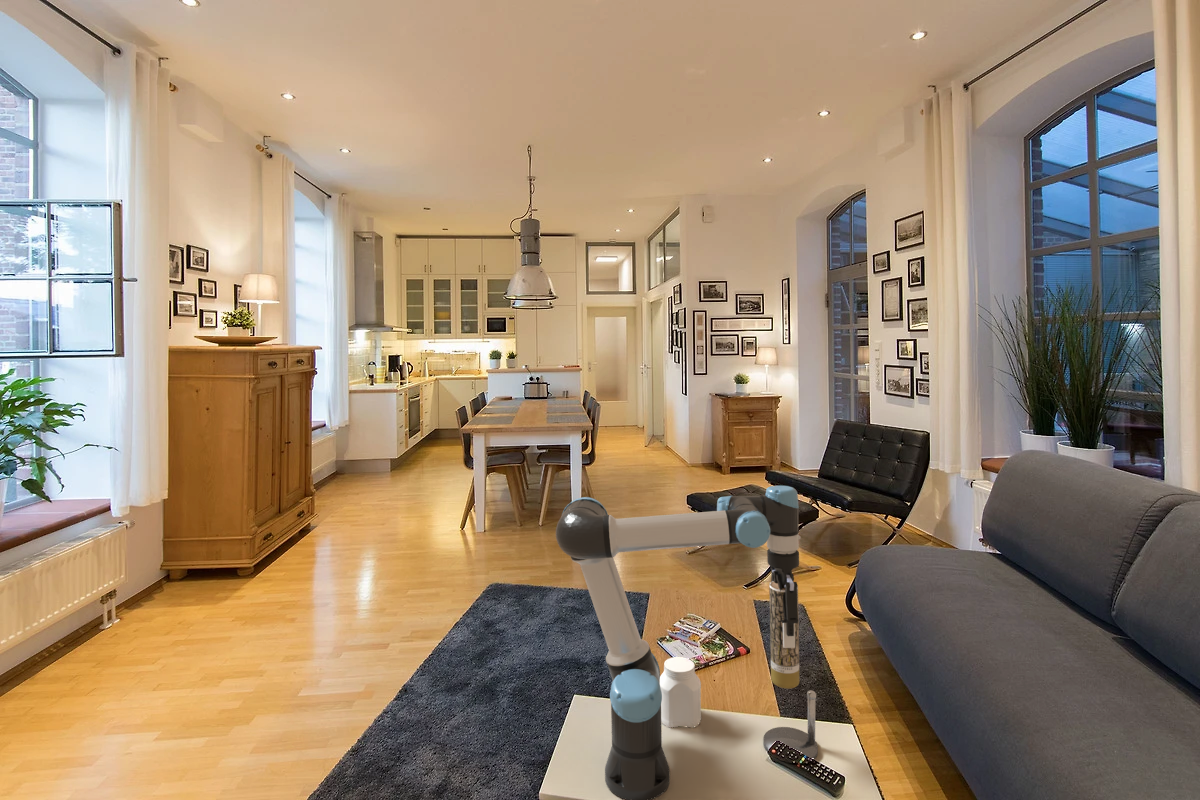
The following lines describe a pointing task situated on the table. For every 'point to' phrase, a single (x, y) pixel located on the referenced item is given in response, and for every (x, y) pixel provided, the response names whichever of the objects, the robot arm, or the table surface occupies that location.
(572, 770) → the table surface
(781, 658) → the paper tube
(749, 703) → the table surface
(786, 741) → the stand
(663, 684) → the jar
